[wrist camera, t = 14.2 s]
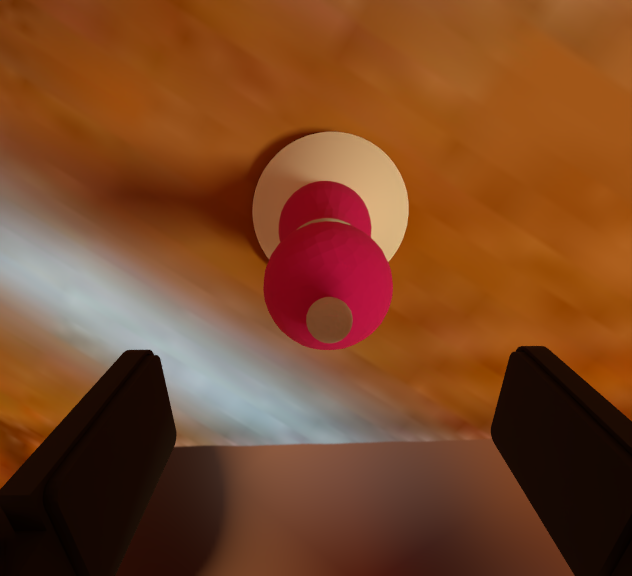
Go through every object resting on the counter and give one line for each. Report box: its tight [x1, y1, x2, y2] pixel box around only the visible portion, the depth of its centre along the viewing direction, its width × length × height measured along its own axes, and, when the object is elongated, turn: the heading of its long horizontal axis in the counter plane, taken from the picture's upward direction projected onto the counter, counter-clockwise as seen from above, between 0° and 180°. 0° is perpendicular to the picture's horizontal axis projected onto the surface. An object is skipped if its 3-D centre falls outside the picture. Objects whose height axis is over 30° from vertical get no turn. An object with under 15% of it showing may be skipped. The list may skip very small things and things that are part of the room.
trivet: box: [252, 132, 408, 262], centre depth 31 cm, size 14×14×2 cm
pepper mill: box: [264, 181, 393, 350], centre depth 21 cm, size 7×7×20 cm
